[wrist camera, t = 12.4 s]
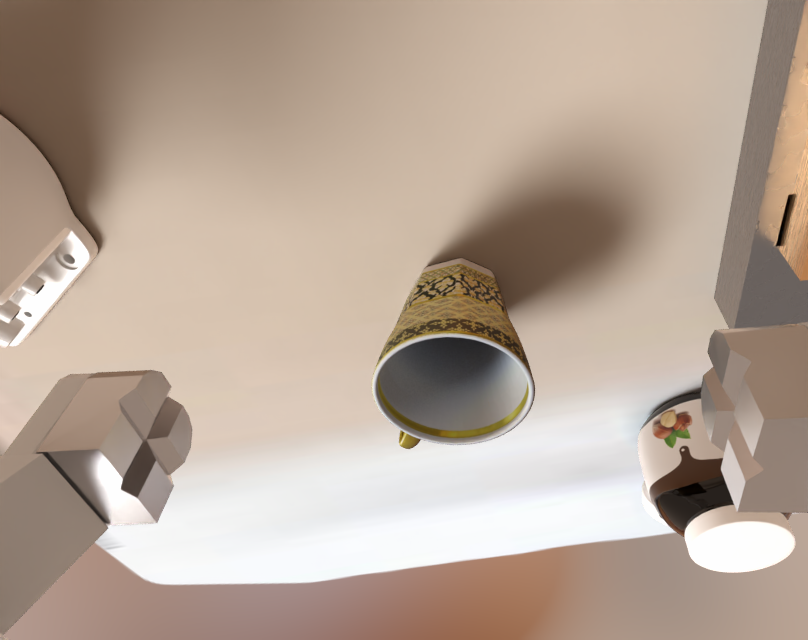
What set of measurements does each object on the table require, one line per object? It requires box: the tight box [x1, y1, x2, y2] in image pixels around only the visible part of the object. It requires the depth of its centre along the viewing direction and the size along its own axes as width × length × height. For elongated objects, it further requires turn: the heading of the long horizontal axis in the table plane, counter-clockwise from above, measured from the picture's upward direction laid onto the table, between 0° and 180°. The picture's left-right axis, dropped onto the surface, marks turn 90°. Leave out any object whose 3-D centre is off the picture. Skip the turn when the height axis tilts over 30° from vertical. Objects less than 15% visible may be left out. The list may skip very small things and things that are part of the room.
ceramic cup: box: [372, 258, 535, 449], centre depth 42 cm, size 13×10×10 cm
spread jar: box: [638, 393, 796, 572], centre depth 48 cm, size 12×11×12 cm
